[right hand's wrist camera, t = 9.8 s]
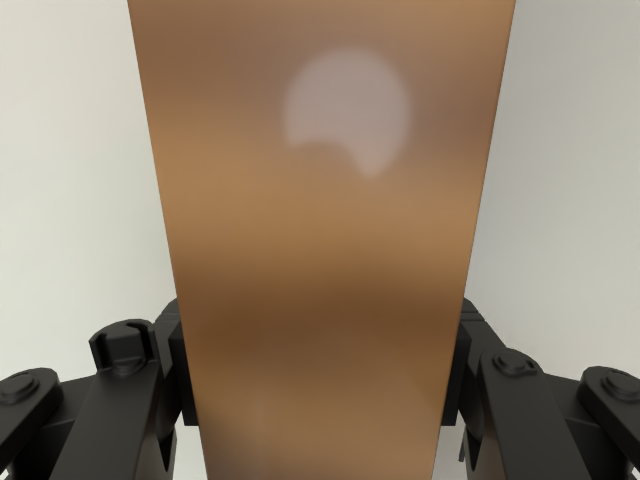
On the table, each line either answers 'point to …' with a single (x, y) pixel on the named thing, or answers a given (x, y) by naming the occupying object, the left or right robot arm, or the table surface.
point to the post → (320, 218)
